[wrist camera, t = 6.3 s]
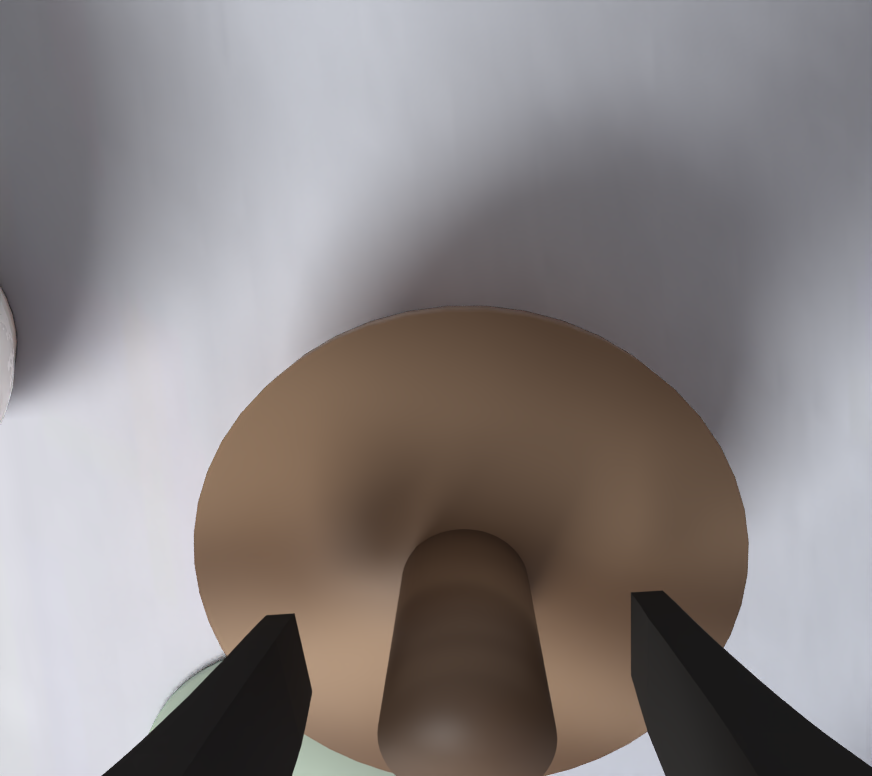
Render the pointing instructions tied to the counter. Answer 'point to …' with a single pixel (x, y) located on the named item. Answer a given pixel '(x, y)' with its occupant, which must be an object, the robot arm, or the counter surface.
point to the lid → (468, 536)
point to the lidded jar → (6, 353)
